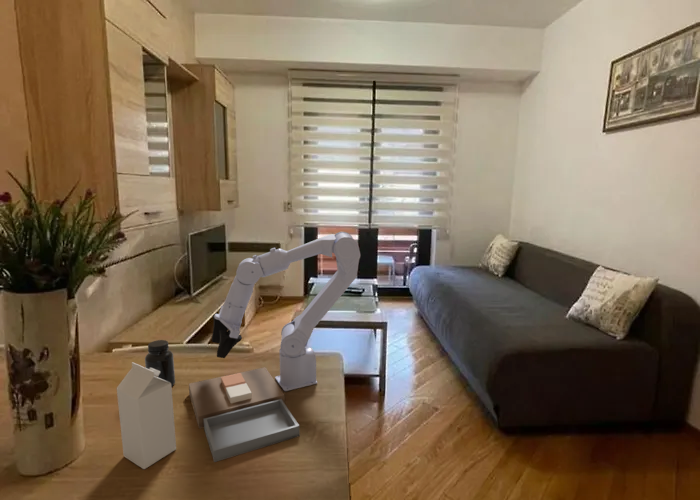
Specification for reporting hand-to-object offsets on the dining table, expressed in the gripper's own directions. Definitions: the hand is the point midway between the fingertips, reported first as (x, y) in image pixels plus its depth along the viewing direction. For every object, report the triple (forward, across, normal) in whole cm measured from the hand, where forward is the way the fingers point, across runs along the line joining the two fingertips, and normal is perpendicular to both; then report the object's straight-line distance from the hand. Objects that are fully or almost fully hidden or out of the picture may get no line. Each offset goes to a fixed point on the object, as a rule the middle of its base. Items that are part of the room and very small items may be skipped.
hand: (218, 349), depth 108 cm
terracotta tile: (+5, +7, +5) cm, 10 cm away
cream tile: (+4, +13, +4) cm, 15 cm away
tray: (+6, +24, +5) cm, 26 cm away
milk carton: (+14, +22, -13) cm, 29 cm away
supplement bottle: (+16, -6, -9) cm, 19 cm away
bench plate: (+8, +10, +6) cm, 14 cm away
